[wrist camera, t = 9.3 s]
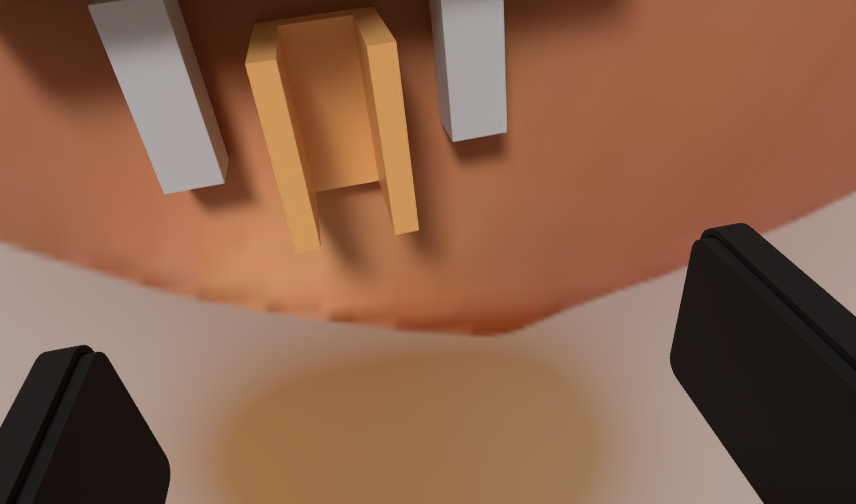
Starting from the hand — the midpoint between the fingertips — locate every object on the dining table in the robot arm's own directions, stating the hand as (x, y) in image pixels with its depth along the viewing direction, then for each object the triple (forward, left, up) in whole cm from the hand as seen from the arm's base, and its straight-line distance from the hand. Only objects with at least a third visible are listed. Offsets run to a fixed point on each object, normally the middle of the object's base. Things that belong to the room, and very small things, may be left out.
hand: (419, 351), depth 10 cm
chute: (+1, 0, -14) cm, 14 cm away
